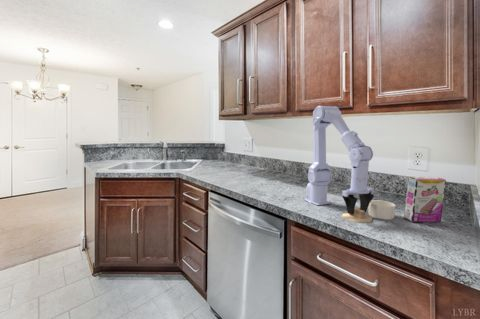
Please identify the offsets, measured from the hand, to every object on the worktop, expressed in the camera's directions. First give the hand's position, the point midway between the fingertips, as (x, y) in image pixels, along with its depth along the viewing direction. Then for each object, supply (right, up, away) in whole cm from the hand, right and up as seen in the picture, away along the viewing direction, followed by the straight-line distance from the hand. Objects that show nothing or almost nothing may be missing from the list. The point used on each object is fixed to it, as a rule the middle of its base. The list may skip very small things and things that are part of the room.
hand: (357, 212), depth 97 cm
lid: (0, -2, 0) cm, 2 cm away
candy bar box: (+24, -3, -2) cm, 24 cm away
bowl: (+11, -2, +3) cm, 11 cm away
